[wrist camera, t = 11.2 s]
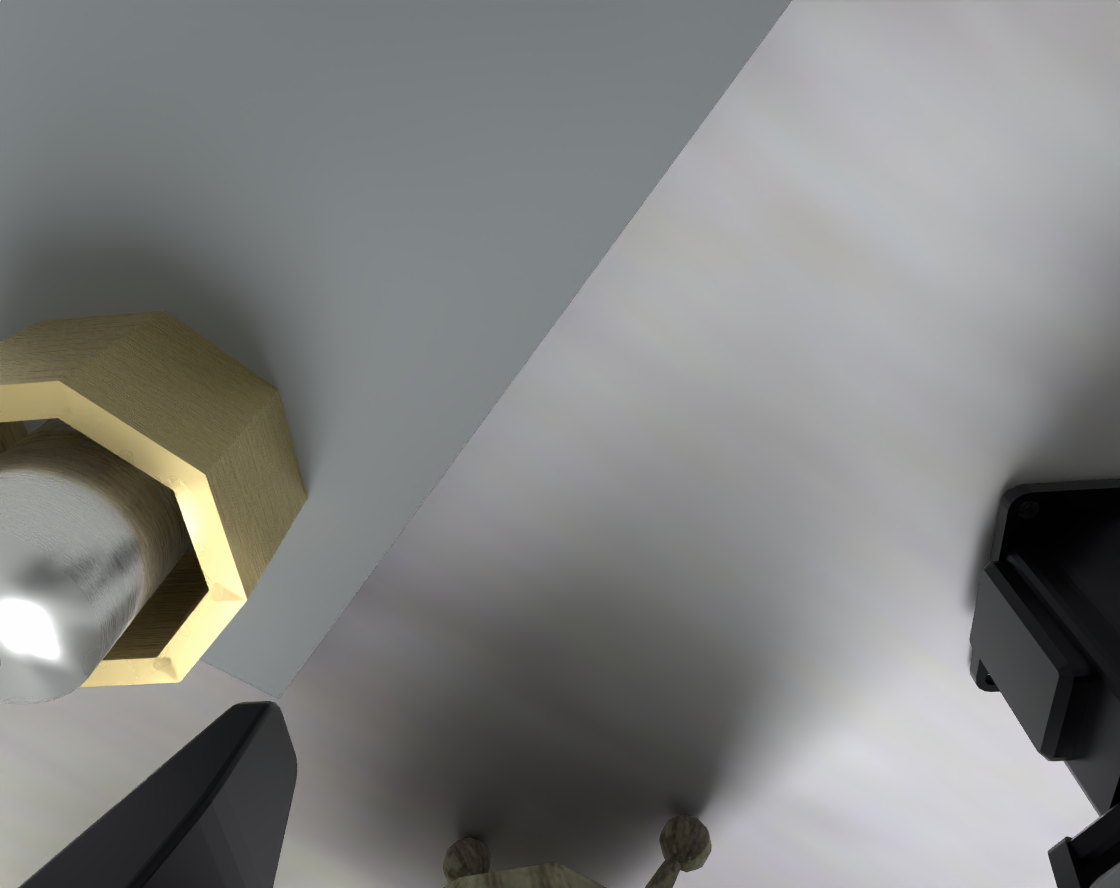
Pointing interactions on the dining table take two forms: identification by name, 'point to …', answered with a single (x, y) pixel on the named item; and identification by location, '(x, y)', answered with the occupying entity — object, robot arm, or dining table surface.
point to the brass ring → (168, 462)
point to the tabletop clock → (559, 884)
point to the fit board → (311, 258)
